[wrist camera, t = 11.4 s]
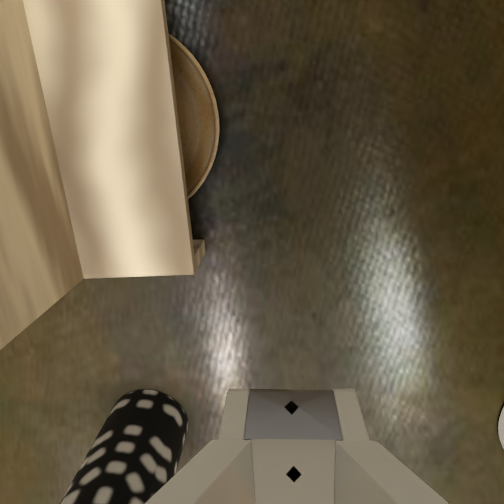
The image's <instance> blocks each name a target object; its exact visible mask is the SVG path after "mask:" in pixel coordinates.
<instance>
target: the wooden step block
mask: <svg viewBox="0 0 504 504" xmlns="http://www.w3.org/2000/svg"><path fill="white" fill-rule="evenodd" d="M204 254H205V243H204V239H202V240H193V239H192V231H191V222H190V214H189V205H188V197H187V188H186V180H185V171H184V163H183V154H182V146H181V137H180V129H179V120H178V112H177V103H176V95H175V86H174V78H173V69H172V61H171V52H170V44H169V35H168V27H167V18H166V10H165V1H164V0H0V350H1V349H2V348H3V347H4V346H5V345H7V344H8V343H9V342H10V341H11V340H12V339H14V338H15V337H16V336H17V335H18V334H19V333H21V332H22V331H23V330H24V329H25V328H26V327H28V326H29V325H30V324H31V323H32V322H33V321H35V320H36V319H37V318H38V317H39V316H40V315H42V314H43V313H44V312H45V311H46V310H47V309H49V308H50V307H51V306H52V305H53V304H54V303H56V302H57V301H58V300H59V299H60V298H62V297H63V296H64V295H65V294H66V293H67V292H69V291H70V290H71V289H72V288H73V287H74V286H76V285H77V284H78V283H79V282H80V281H81V280H83V279H85V278H112V277H139V276H166V275H193V274H194V273H195V271H196V269H197V268H198V266H199V264H200V262H201V260H202V258H203V256H204Z"/></svg>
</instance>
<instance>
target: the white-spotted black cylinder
mask: <svg viewBox="0 0 504 504" xmlns="http://www.w3.org/2000/svg"><path fill="white" fill-rule="evenodd" d="M187 430H188V419H187V416H186V413H185V412H184V410H183V408H182V407H181V406H180V405H179V403H178V402H176V401H175V400H174V399H173V398H171V397H170V396H168V395H166V394H164V393H161V392H158V391H154V390H136V391H132V392H129V393H127V394H125V395H124V396H122V397H121V398H120V399H119V400H118V401H117V402H116V404H115V405H114V407H113V409H112V411H111V413H110V414H109V416H108V418H107V420H106V422H105V423H104V425H103V427H102V429H101V431H100V432H99V434H98V436H97V438H96V440H95V441H94V443H93V445H92V447H91V449H90V450H89V452H88V454H87V456H86V458H85V459H84V461H83V463H82V465H81V467H80V468H79V470H78V472H77V474H76V476H75V477H74V479H73V481H72V483H71V485H70V486H69V488H68V490H67V492H66V494H65V495H64V497H63V499H62V501H61V503H60V504H145V503H146V502H147V501H148V500H149V499H150V498H151V497H152V496H153V495H154V494H155V493H156V492H158V491H159V490H160V489H161V488H162V487H163V486H164V485H165V484H166V483H167V482H168V481H169V480H170V479H171V478H172V477H173V476H174V475H175V474H176V470H177V466H178V463H179V459H180V456H181V452H182V449H183V445H184V441H185V438H186V434H187Z"/></svg>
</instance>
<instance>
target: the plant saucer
mask: <svg viewBox="0 0 504 504" xmlns="http://www.w3.org/2000/svg"><path fill="white" fill-rule="evenodd" d="M168 35H169V44H170V52H171V61H172V69H173V78H174V86H175V95H176V103H177V112H178V120H179V129H180V137H181V146H182V154H183V163H184V171H185V180H186V188H187V197H188V199H189V198H190V197H191V196H192V195H193V194H194V193H195V192H196V191H197V190H198V188H199V187H200V186H201V185H202V183H203V182H204V180H205V179H206V177H207V175H208V174H209V172H210V169H211V167H212V165H213V162H214V159H215V156H216V152H217V147H218V141H219V115H218V108H217V103H216V99H215V96H214V93H213V90H212V87H211V85H210V83H209V80H208V78H207V76H206V74H205V73H204V71H203V69H202V67H201V66H200V64H199V63H198V61H197V60H196V59H195V58H194V56H193V55H192V54H191V53H190V52H189V50H188V49H187V48H186V47H185V46H184V45H183V44H182V43H181V42H179V41H178V40H177V39H176V38H175V37H173V36H172V35H171V34H169V33H168Z"/></svg>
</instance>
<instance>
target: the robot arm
mask: <svg viewBox="0 0 504 504" xmlns="http://www.w3.org/2000/svg"><path fill="white" fill-rule="evenodd" d="M498 434H499V439H500V442H501V445H502V447H503V449H504V407H503V409H502V412H501V414H500V418H499V424H498ZM145 504H449V503H448V502H446V501H445V500H444V499H443V498H442V497H441V496H439V495H438V494H437V493H436V492H435V491H434V490H433V489H431V488H430V487H429V486H428V485H427V484H426V483H424V482H423V481H422V480H421V479H420V478H419V477H418V476H416V475H415V474H414V473H413V472H412V471H411V470H409V469H408V468H407V467H406V466H405V465H404V464H403V463H401V462H400V461H399V460H398V459H397V458H396V457H394V456H393V455H392V454H391V453H390V452H389V451H388V450H386V449H385V448H384V447H383V446H382V445H381V444H379V443H378V442H377V441H370V439H369V436H368V432H367V429H366V425H365V422H364V418H363V415H362V411H361V408H360V404H359V401H358V397H357V394H356V391H355V390H354V389H353V388H352V389H332V390H280V389H250V390H249V389H229V390H228V392H227V396H226V401H225V406H224V412H223V417H222V422H221V428H220V433H219V439H218V440H211V441H210V442H209V443H208V444H207V445H206V446H205V447H204V448H203V449H202V450H201V451H200V452H199V453H197V454H196V455H195V456H194V457H193V458H192V459H191V460H190V461H189V462H188V463H187V464H186V465H185V466H184V467H183V468H182V469H181V470H180V471H179V472H177V473H176V474H175V475H174V476H173V477H172V478H171V479H170V480H169V481H168V482H167V483H166V484H165V485H164V486H163V487H162V488H161V489H160V490H159V491H158V492H156V493H155V494H154V495H153V496H152V497H151V498H150V499H149V500H148V501H147V502H146V503H145Z"/></svg>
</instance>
